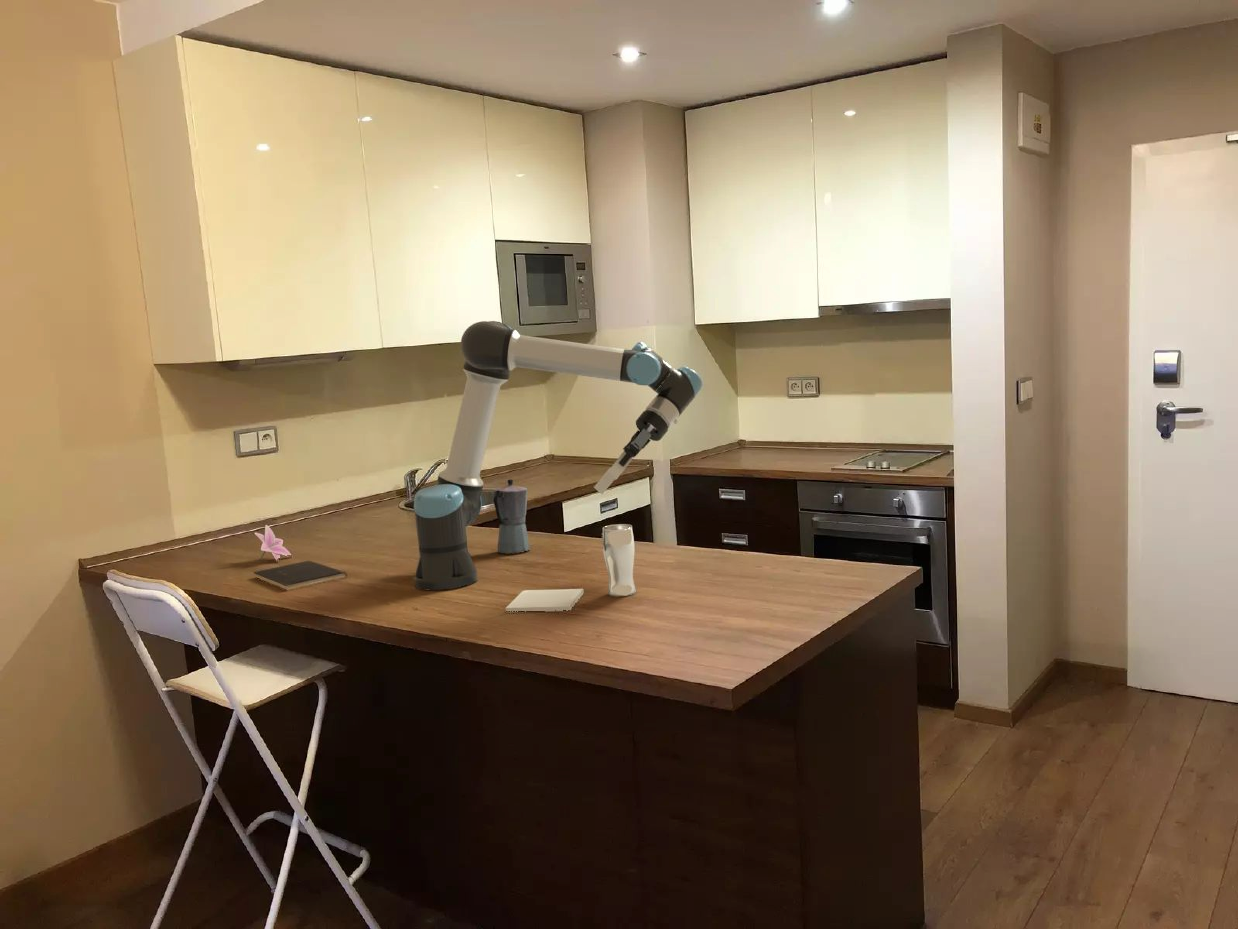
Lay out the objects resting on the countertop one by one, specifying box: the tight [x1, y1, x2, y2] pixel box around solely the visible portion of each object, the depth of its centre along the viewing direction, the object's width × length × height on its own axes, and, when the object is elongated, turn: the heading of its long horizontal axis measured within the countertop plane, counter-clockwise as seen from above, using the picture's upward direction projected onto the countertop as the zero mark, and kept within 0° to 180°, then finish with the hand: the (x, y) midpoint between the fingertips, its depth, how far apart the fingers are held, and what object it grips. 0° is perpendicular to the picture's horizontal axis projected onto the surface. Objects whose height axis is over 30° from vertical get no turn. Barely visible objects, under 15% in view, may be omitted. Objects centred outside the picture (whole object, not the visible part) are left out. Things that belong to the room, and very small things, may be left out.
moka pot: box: [493, 479, 531, 555], centre depth 269 cm, size 10×15×20 cm, turn 161°
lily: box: [254, 524, 292, 561], centre depth 283 cm, size 12×12×10 cm
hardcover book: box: [253, 560, 348, 589], centre depth 258 cm, size 16×23×2 cm
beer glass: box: [602, 523, 637, 598], centre depth 217 cm, size 7×7×15 cm
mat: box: [505, 588, 585, 613], centre depth 215 cm, size 14×14×1 cm
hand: (604, 483), depth 231 cm, fingers open, 13 cm apart
